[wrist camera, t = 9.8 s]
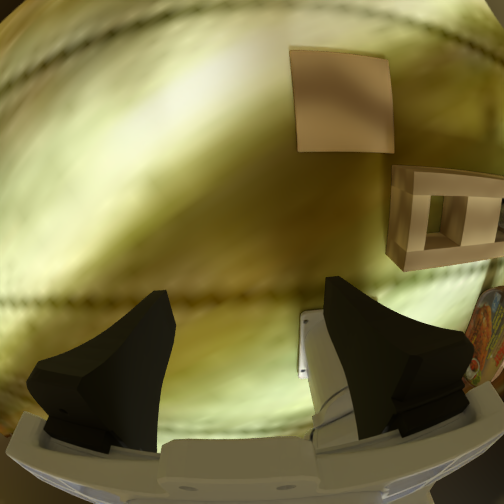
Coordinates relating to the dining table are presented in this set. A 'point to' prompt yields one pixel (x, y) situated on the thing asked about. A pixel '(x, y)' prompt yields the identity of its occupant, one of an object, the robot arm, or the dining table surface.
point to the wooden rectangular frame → (444, 217)
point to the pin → (501, 215)
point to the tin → (486, 337)
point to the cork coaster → (342, 102)
